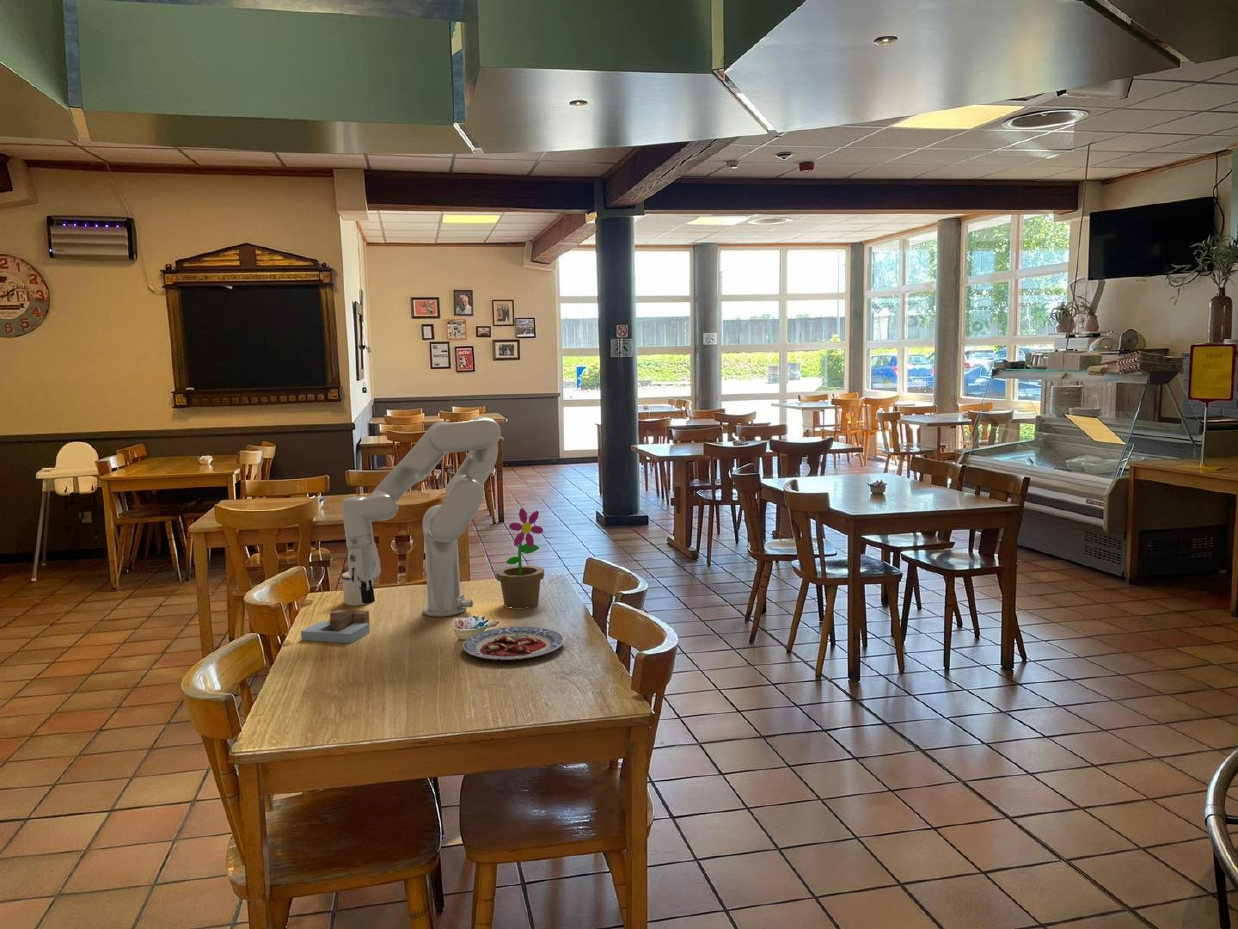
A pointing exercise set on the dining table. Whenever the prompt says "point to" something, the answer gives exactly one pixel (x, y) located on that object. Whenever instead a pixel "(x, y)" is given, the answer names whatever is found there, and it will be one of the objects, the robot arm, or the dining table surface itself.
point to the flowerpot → (522, 568)
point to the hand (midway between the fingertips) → (368, 602)
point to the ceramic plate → (513, 643)
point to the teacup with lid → (351, 592)
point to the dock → (335, 632)
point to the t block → (347, 618)
